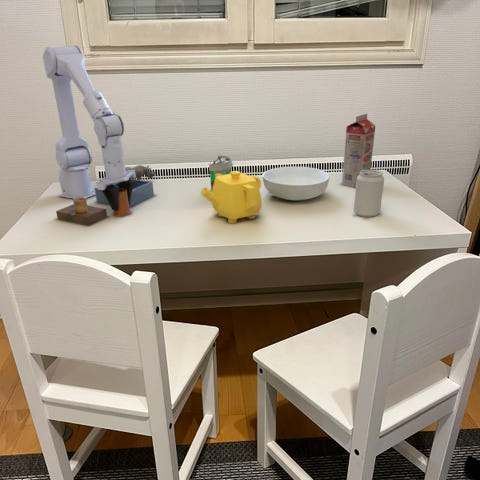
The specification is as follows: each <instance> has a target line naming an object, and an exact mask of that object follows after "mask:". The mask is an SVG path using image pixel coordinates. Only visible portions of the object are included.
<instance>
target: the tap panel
mask: <svg viewBox="0 0 480 480" xmlns="http://www.w3.org/2000/svg"><path fill="white" fill-rule="evenodd" d="M87 207H88V211H87V212H84V213H76V212H75V208H74V203H73V204H71V205H68V206H65V207H63V208H61V209H58V210H56V211H55V213H56V217H57V220H60V221H65V222H69V223H74V224H78V225H83V226H91V225H93V224H95V223H97V222H99V221H102V220H104V219H106V218H108V211H107V208H105V207H99V206H92V205H89V204H87Z"/></svg>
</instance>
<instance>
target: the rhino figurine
mask: <svg viewBox="0 0 480 480" xmlns="http://www.w3.org/2000/svg"><path fill="white" fill-rule="evenodd" d="M125 169H126V171H129V170H133V171H135V175H136V177H135V178H131V179H136V180H142V178H143V176H144V177H146V178H148V179H153V178H154V175H155V174H156V173H157V171H156V170H155V171H153V170H152V167H150V166H149V165H146V166H145V165H143V164H142V165H141V164H140V165H139V164H138V165H136V166H132V167H131V166H127V167H126V166H125Z"/></svg>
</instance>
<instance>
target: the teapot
mask: <svg viewBox="0 0 480 480" xmlns="http://www.w3.org/2000/svg"><path fill="white" fill-rule="evenodd" d="M215 175H216V178H215V181H214V185H213V189H212V192H211V189H210V188H208V187H206V186H205V187H203V188H202V189H201V191H200V195H201V196H203V197H204V198H205V199H206V200H208V201H209V202H210V203H211V206H212V208H213V210H214V211H215V212H216V213H217V217H221V218H223V217H225V218H227V222H228V224H229V223H230V224H235V223H237V222H238V219H242V218H247V219H252V220H253V219H255V218H256V215H258V214H260V212H261V209H262V196H261V190H260V189H261V186H262V181H261V179H260V178H259V177H258V176H256V175H249V174H247V173H246V174H245V173H242V172H241V171H239V170H233V171H232V170H231V172H230V174H227V175H222V174H215Z"/></svg>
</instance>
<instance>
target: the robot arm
mask: <svg viewBox="0 0 480 480" xmlns="http://www.w3.org/2000/svg"><path fill="white" fill-rule="evenodd" d="M42 59H43V65H44V70H45V74H46V78H48V79H50V80H51V81H52V82H51V83H52V87H53V92H54V97H55V103H56V108H57V114H58V118H59V123H60V129H61V134H62V135H61V136H62V137H61V138H60V139H59V140H58V141H57V142H56V143H55V160H56V163H57V165H58V166H59V168H60V170H59V171H58V172H59V173H58V179H59V180H58V181H59V185H60V189H61V194H60V197H61V198H68V199H72V200H73V199H75V198H79V197H84V198H86V199H88V198H91V197H93V196H96V193H95V190H94V191H93V189H92V184H91V179H90V172H89V168H90V165H91V164H92V161H93V155H92V152H91V149H90V147H89V142H88V141H87V140H86V139H84V138H83V137H81V136H80V130H79V126H78V125H79V124H78V119H77V113H76V109H75V108H76V107H75V103H74V97H73V91H72V90H73V89H72V85H71V81H72V82H73V83H74V85H75V86H76V88H77V89H78V91H79V92H80V93H81V95H82V96H83V100H82V102H83V103H82V104H83V105H84V107H85V109H86V111H87V112H88V114H89V116H90V118H91V119H92V121H93V130H94V133H95V135H96V137H97V140H98V145H99V146H100V147H101V154H102V159H103V166H104V167H103V168H104V173H105V177H103V178H102V179H101V180H99V181H96V183H95V184H96V188H97V189H98V190H101V191H102V192H103V194H104V195H105V197H106V198H107V200H108V202H109V204H110V205H109V206H110V209H111V210H112V211H113V210H114V211H118V210H119V204H118V193H119V188H123V189H126V190H127V195H128V202H129V205H130V200H131V193H132V189H133V187H134V184H135V181H134V180H131V178H135V177H136V175H135V171H133V170H129V171H126V169H125V168H126V162H125V156H124V149H123V140H122V137H123V135H124V133H125V125H124V124H125V123H124V121H123V119H122V116H121V115H120V114H119V113H116V111H114V110H112V109H111V107H110V106H109V103H108V102H107V101H106V99H105V96H104V95H103V93H102V92H100V91H97V90H96V89H95V87H94V85H93V83H92V80H91V78H90V76H89V73H88V72H87V69H86V57H85V54H84V51H83V50H82V48H81V47H80V46H79V45H71V46H54V47H50V46H47V47H45V48H44V51H43V54H42ZM135 179H136V178H135ZM115 184H117V185H118V187H119V188H115V186H113V185H115Z"/></svg>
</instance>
